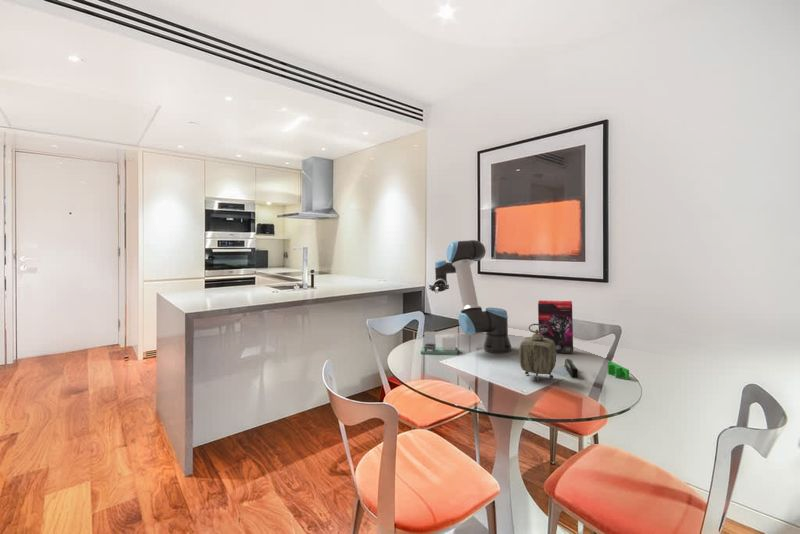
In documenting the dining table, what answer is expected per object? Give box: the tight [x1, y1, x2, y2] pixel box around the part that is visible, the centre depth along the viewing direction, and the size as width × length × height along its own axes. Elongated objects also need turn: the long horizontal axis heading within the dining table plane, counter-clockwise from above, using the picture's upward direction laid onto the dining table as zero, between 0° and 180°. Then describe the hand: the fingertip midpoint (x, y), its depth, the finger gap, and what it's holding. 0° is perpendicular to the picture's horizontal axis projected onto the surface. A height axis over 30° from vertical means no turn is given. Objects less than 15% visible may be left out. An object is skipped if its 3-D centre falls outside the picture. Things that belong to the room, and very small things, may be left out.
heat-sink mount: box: [420, 334, 459, 355], centre depth 213 cm, size 20×8×9 cm, turn 79°
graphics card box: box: [537, 300, 574, 354], centre depth 203 cm, size 17×7×27 cm, turn 68°
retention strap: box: [423, 331, 437, 351], centre depth 211 cm, size 6×4×10 cm, turn 79°
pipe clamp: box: [607, 360, 630, 381], centre depth 168 cm, size 11×4×5 cm, turn 10°
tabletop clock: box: [518, 323, 557, 382], centre depth 167 cm, size 14×9×25 cm, turn 59°
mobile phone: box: [563, 358, 579, 379], centre depth 174 cm, size 5×3×15 cm
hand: (436, 290), depth 226 cm, fingers closed
